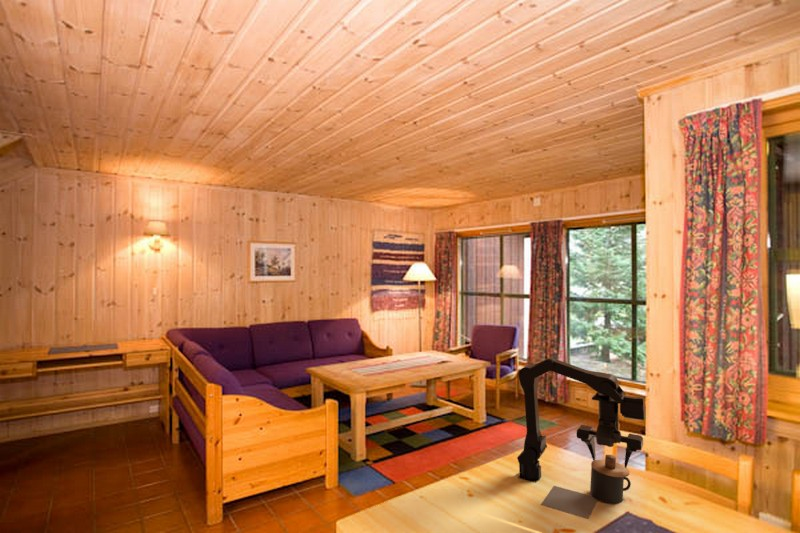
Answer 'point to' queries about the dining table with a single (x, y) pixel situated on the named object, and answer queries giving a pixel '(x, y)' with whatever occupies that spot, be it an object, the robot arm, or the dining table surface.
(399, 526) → the dining table surface
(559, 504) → the mat
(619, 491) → the mug
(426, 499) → the dining table surface
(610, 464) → the lid
